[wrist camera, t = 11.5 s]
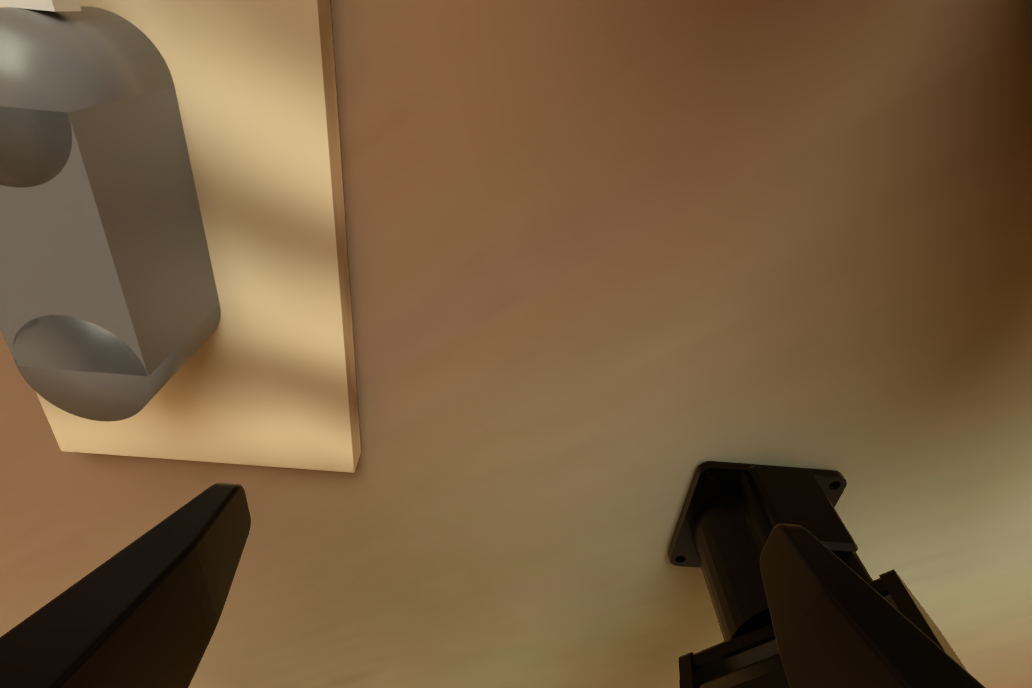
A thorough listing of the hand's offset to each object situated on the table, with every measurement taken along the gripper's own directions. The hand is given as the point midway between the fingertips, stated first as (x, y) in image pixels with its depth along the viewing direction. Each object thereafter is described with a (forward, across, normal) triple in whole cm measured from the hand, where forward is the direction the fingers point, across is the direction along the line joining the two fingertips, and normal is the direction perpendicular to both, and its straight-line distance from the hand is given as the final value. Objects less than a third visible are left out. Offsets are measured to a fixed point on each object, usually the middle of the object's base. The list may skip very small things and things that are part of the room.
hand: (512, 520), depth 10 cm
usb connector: (+11, +12, -1) cm, 16 cm away
